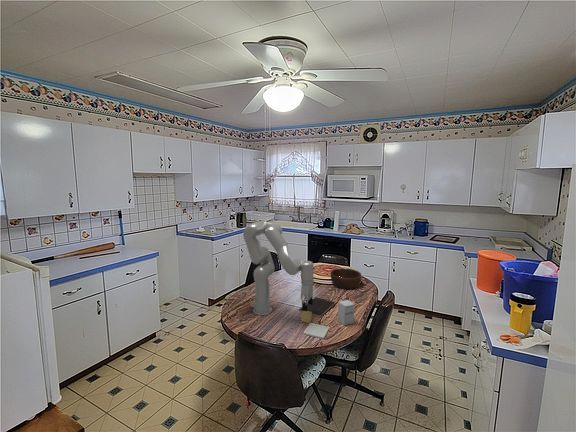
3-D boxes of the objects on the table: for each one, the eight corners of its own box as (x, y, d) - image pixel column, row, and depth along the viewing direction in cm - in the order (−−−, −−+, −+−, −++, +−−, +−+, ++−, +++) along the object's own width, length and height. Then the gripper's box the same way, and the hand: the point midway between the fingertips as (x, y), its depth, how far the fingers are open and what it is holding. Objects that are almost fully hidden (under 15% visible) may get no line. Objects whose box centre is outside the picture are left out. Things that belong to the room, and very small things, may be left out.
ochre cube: (301, 321, 179) (301, 313, 179) (304, 317, 184) (304, 310, 183) (308, 322, 177) (309, 315, 177) (311, 319, 182) (311, 311, 181)
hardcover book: (334, 305, 203) (335, 302, 202) (320, 318, 183) (320, 315, 183) (314, 299, 211) (314, 296, 211) (298, 312, 192) (298, 308, 192)
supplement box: (344, 325, 174) (344, 306, 172) (337, 320, 180) (337, 301, 179) (354, 323, 177) (354, 304, 175) (347, 318, 183) (347, 299, 182)
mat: (303, 334, 164) (303, 332, 164) (310, 324, 175) (310, 322, 175) (323, 339, 160) (323, 337, 159) (329, 328, 170) (329, 327, 170)
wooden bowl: (327, 280, 250) (327, 268, 248) (354, 279, 252) (355, 267, 251) (334, 291, 225) (335, 279, 223) (365, 290, 228) (366, 278, 226)
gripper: (306, 276, 186) (306, 301, 188) (296, 285, 170) (296, 312, 173) (317, 277, 183) (317, 302, 185) (308, 287, 167) (308, 314, 170)
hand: (307, 307), depth 179 cm, fingers open, 9 cm apart
